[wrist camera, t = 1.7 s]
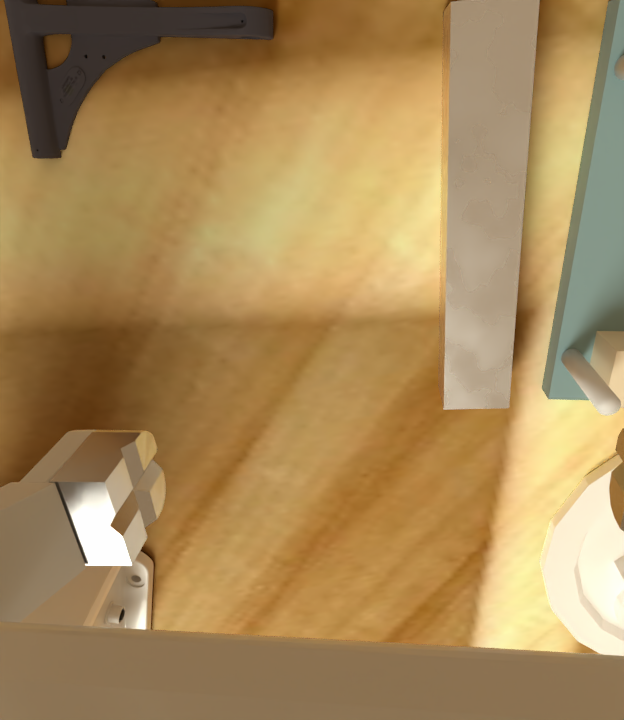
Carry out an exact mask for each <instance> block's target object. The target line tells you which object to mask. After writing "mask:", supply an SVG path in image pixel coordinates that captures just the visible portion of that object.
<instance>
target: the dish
mask: <svg viewBox="0 0 624 720" xmlns="http://www.w3.org/2000/svg"><path fill="white" fill-rule="evenodd" d="M622 462H623V461H622V459H621V458H620V456H619V454H617V455H616V456H614V457H613V458H611V459H610V460H608V461H607V462H605V463H604V464H602V465H601V466H599V467H598V468H596V469H595V470H593V471H592V472H590V473H589V474H587V475H586V476H584V477H583V479H582V480H581V481H580V483H579V484H578V485H577V486H576V488H575V489H574V490H573V491H572V493H571V494H570V495H569V497H568V498H567V499H566V500H565V502H564V503H563V504H562V505H561V507H560V508H559V509H558V510H557V512H556V513H555V514H554V516H553V517H552V518H551V521H550V524H549V528H548V532H547V535H546V539H545V543H544V546H543V550H542V554H541V557H540V566H541V570H542V575H543V579H544V584H545V588H546V593H547V597H548V601H549V604H550V607H551V609H552V611H553V612H554V613H555V614H556V616H557V617H558V618H559V619H560V620H561V622H562V623H563V624H564V625H565V626H566V628H567V629H568V630H569V631H570V632H571V634H572V635H573V636H574V637H575V638H576V640H577V641H578V642H580V643H582V644H584V645H585V646H587V647H589V648H591V649H593V650H595V651H596V652H598V653H600V654H603V655H621V656H624V531H622V530H621V529H620V528H619V526H618V524H617V522H616V520H615V518H614V515H613V512H612V508H611V505H610V493H609V486H610V479H611V472H612V471H613V470H614V469H615V468H616V467H617V466H619V465H620V464H621V463H622Z"/></svg>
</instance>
